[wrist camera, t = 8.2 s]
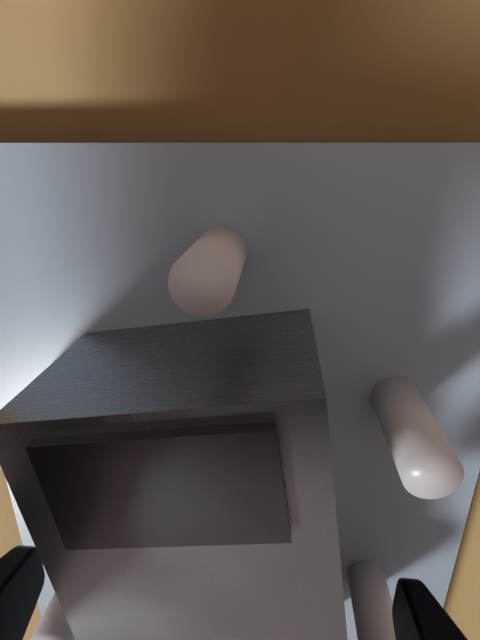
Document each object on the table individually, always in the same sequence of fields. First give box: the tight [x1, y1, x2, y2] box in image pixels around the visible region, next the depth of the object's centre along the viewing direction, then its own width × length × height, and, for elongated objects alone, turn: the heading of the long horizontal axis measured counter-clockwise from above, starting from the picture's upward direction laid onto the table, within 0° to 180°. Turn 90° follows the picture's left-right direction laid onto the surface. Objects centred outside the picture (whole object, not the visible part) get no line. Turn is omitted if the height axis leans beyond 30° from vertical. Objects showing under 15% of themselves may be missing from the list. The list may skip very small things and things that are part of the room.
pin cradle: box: [0, 142, 480, 640], centre depth 10 cm, size 16×12×4 cm
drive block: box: [0, 309, 348, 640], centre depth 9 cm, size 9×5×4 cm, turn 9°
